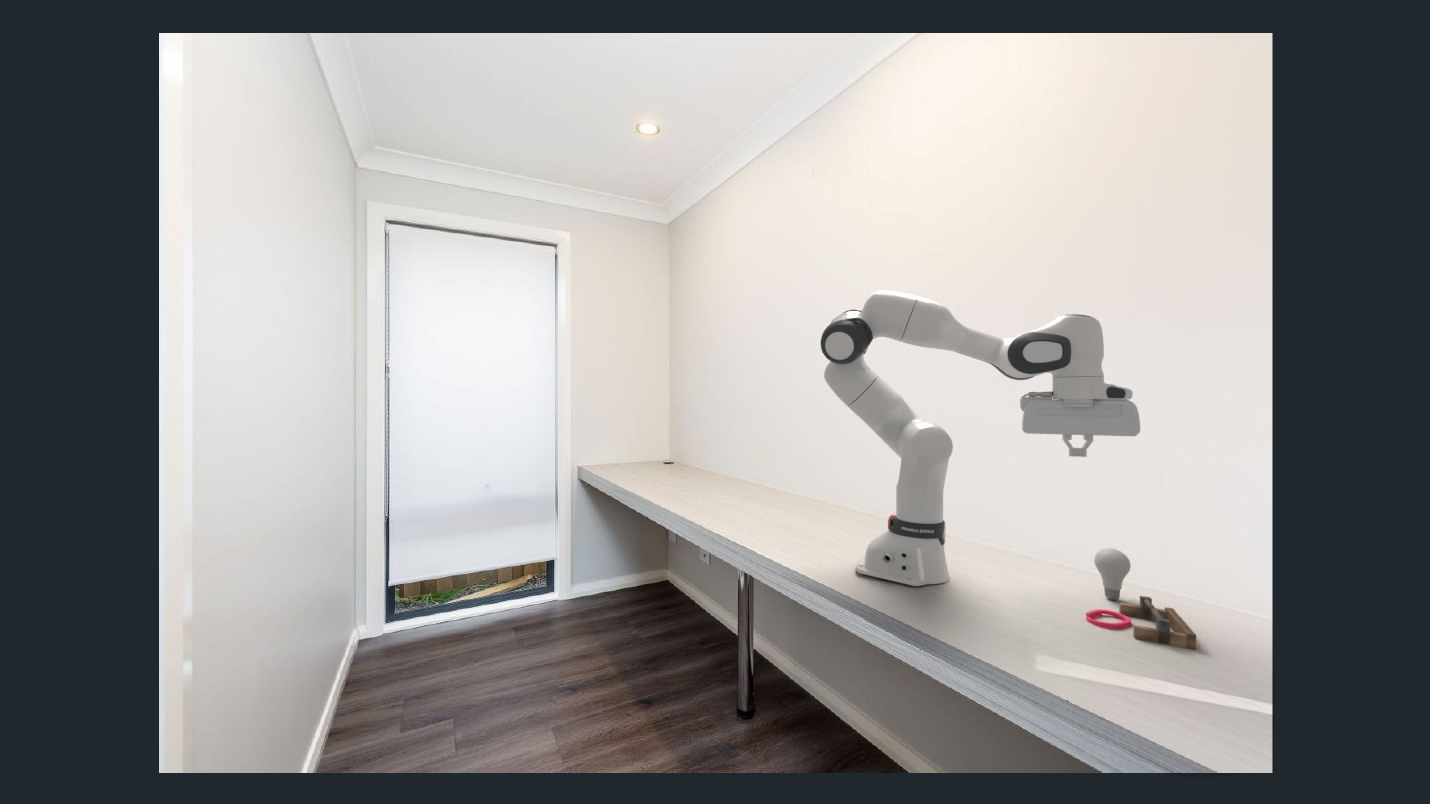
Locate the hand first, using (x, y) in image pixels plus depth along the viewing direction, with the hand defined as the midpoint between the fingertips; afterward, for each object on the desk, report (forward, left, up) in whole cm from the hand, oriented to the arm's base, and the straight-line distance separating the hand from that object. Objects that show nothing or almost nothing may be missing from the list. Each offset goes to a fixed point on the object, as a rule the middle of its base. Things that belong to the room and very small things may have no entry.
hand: (1077, 456), depth 106 cm
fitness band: (+4, -8, -32) cm, 33 cm away
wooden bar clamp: (+10, -8, -31) cm, 34 cm away
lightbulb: (+7, +6, -31) cm, 33 cm away
